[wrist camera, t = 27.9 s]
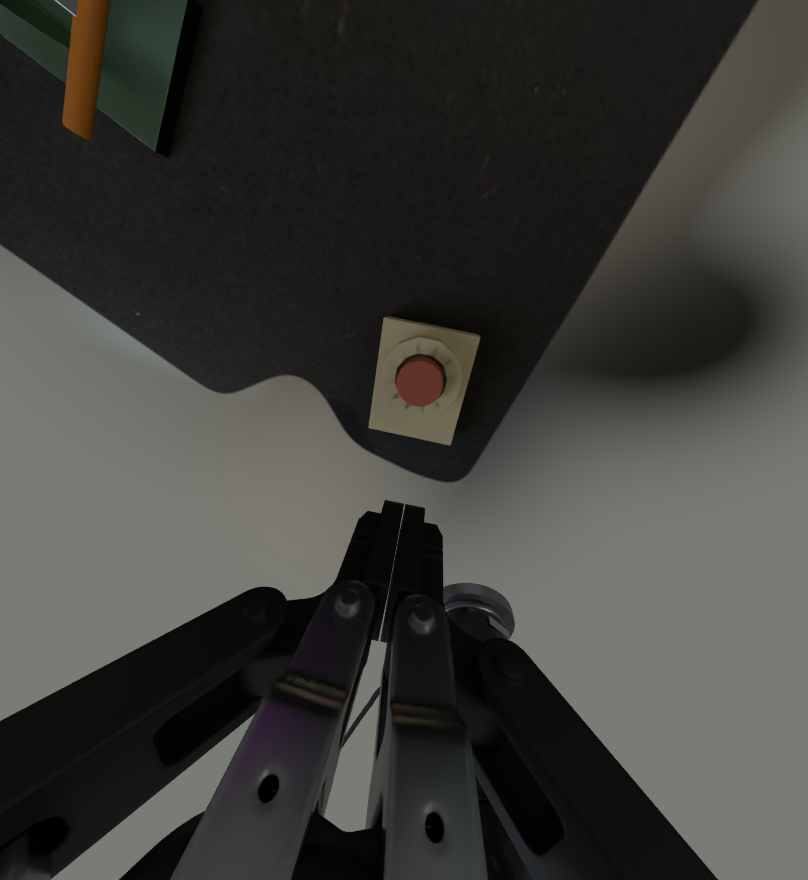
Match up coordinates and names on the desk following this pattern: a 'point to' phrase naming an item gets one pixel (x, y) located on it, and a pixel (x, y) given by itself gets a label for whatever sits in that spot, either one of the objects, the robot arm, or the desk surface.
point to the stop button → (420, 381)
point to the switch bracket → (119, 57)
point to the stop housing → (455, 363)
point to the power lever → (84, 63)
